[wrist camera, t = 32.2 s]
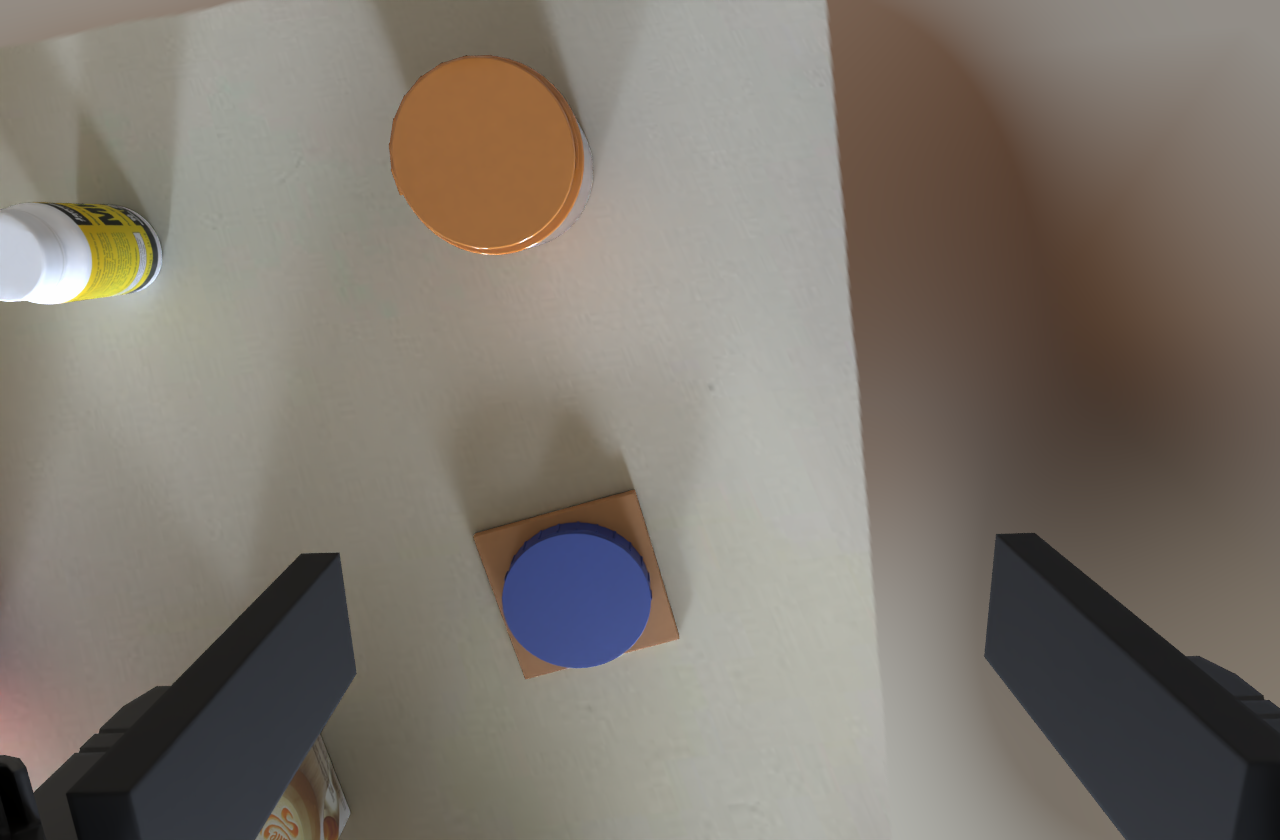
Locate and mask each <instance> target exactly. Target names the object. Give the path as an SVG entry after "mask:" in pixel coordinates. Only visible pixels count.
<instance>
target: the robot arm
mask: <svg viewBox="0 0 1280 840" xmlns="http://www.w3.org/2000/svg"><path fill="white" fill-rule="evenodd" d="M984 657H985V658H986V659H987V661H988V662H989V663H990V665H991V666H992V667H993V669H994V670H995V671H996V672H997V674H998V675H999V676H1000V678H1001V679H1002V680H1003V681H1004V683H1005V684H1006V685H1007V687H1008V688H1009V689H1010V691H1011V692H1012V693H1013V694H1014V696H1015V697H1016V698H1017V700H1018V701H1019V702H1020V703H1021V705H1022V706H1023V707H1024V709H1025V710H1026V711H1027V713H1028V714H1029V715H1030V716H1031V718H1032V719H1033V720H1034V722H1035V723H1036V724H1037V725H1038V727H1039V728H1040V729H1041V731H1042V732H1043V733H1044V734H1045V736H1046V737H1047V738H1048V740H1049V741H1050V742H1051V744H1052V745H1053V746H1054V747H1055V749H1056V750H1057V751H1058V753H1059V754H1060V755H1061V757H1062V758H1063V759H1064V760H1065V762H1066V763H1067V764H1068V766H1069V767H1070V768H1071V769H1072V771H1073V772H1074V773H1075V774H1076V776H1077V777H1078V778H1079V780H1080V781H1081V782H1082V784H1083V785H1084V786H1085V788H1086V789H1087V790H1088V791H1089V793H1090V794H1091V795H1092V797H1093V798H1094V799H1095V800H1096V802H1097V803H1098V804H1099V806H1100V807H1101V808H1102V810H1103V811H1104V812H1105V813H1106V815H1107V816H1108V817H1109V819H1110V820H1111V821H1112V823H1113V824H1114V825H1115V826H1116V828H1117V829H1118V830H1119V831H1120V833H1121V834H1122V835H1123V837H1124V838H1125V839H1126V840H1280V708H1279V707H1277V706H1276V705H1275V704H1273V703H1272V702H1271V701H1270V700H1264V697H1263V695H1262V694H1261V693H1259V692H1258V691H1257V690H1255V689H1254V688H1253V687H1252V686H1250V685H1249V684H1248V683H1247V682H1245V681H1244V680H1243V679H1241V678H1240V677H1239V676H1238V675H1236V674H1234V673H1232V672H1230V671H1228V670H1226V669H1224V668H1222V667H1220V666H1218V665H1216V664H1214V663H1212V662H1210V661H1208V660H1206V659H1204V658H1202V657H1200V656H1185V655H1183V654H1182V653H1181V652H1180V651H1179V650H1177V649H1176V648H1175V647H1174V646H1172V645H1171V644H1170V643H1169V642H1168V641H1166V640H1165V639H1164V638H1163V637H1161V636H1160V635H1159V634H1158V633H1156V632H1155V631H1154V630H1153V629H1152V628H1150V627H1149V626H1148V625H1147V624H1146V623H1144V622H1143V621H1142V620H1141V619H1139V618H1138V617H1137V616H1136V615H1134V614H1133V613H1132V612H1131V611H1130V610H1128V609H1127V608H1126V607H1124V606H1123V605H1122V604H1121V603H1120V602H1119V601H1117V600H1116V599H1115V598H1114V597H1112V596H1111V595H1110V594H1109V593H1108V592H1106V591H1105V590H1104V589H1103V588H1101V587H1100V586H1099V585H1098V584H1097V583H1095V582H1094V581H1093V580H1091V579H1090V578H1089V577H1088V576H1087V575H1085V574H1084V573H1083V572H1082V571H1081V570H1079V569H1078V568H1077V567H1076V566H1074V565H1073V564H1072V563H1071V562H1070V561H1068V560H1067V559H1066V558H1065V557H1063V556H1062V555H1061V554H1060V553H1059V552H1057V551H1056V550H1055V549H1053V548H1052V547H1051V546H1050V545H1049V544H1048V543H1046V542H1045V541H1044V540H1043V539H1041V538H1040V537H1039V536H1038V535H1037V534H1035V533H1018V534H996V540H995V551H994V561H993V572H992V582H991V592H990V603H989V613H988V624H987V634H986V645H985V655H984ZM356 674H357V673H356V666H355V659H354V652H353V645H352V638H351V631H350V624H349V617H348V610H347V603H346V596H345V589H344V582H343V575H342V568H341V561H340V554H339V553H306V554H300V555H299V556H298V557H297V558H296V560H295V561H294V562H293V563H292V564H291V565H290V566H289V567H288V568H287V569H286V570H285V571H284V572H283V573H282V574H281V575H280V576H279V577H278V578H277V579H276V580H275V581H274V582H273V583H272V584H271V585H270V586H269V587H268V588H267V589H266V590H265V591H264V592H263V593H262V594H261V595H260V596H259V597H258V598H257V599H256V600H255V601H254V602H253V603H252V604H251V605H250V606H249V607H248V608H247V609H246V610H245V611H244V612H243V613H242V614H241V615H240V616H239V617H238V618H237V620H236V621H235V622H234V623H233V624H232V625H231V626H230V627H229V628H228V629H227V630H226V631H225V632H224V633H223V634H222V635H221V636H220V637H219V638H218V639H217V640H216V641H215V642H214V643H213V644H212V645H211V646H210V647H209V648H208V649H207V650H206V651H205V652H204V653H203V654H202V655H201V656H200V657H199V658H198V659H197V660H196V661H195V662H194V663H193V664H192V665H191V666H190V667H189V668H188V669H187V670H186V671H185V672H184V673H183V674H182V675H181V676H180V677H179V678H178V680H177V681H176V682H175V683H174V684H173V685H172V686H156V687H155V688H153V689H151V690H150V691H148V692H146V693H145V694H143V695H141V696H140V697H138V698H136V699H135V700H133V701H131V702H130V703H128V704H126V705H125V706H123V707H122V708H121V709H120V710H119V711H118V712H117V713H116V714H115V715H114V716H113V717H112V718H111V719H110V720H109V721H108V722H107V723H105V724H104V725H103V726H102V727H101V728H100V731H99V734H94V735H93V736H92V737H91V738H90V739H89V740H88V741H87V742H86V743H85V744H84V745H83V746H82V747H81V748H80V751H79V753H74V754H73V755H72V756H71V757H70V758H69V759H68V760H67V761H66V762H65V763H64V764H63V765H62V766H61V767H60V768H59V769H58V770H57V771H56V772H55V773H54V774H52V775H51V776H50V777H49V778H48V779H47V780H46V781H45V782H44V783H43V784H42V785H41V786H40V787H39V788H38V789H37V790H36V791H35V792H34V793H33V790H32V787H31V783H30V779H29V776H28V772H27V769H26V766H25V765H24V764H23V762H22V761H21V760H20V758H15V757H11V756H6V755H0V840H255V839H256V838H257V836H258V835H259V833H260V831H261V830H262V828H263V826H264V825H265V823H266V821H267V820H268V818H269V816H270V815H271V813H272V812H273V810H274V808H275V807H276V805H277V803H278V802H279V800H280V798H281V797H282V795H283V793H284V792H285V790H286V789H287V787H288V785H289V784H290V782H291V780H292V779H293V777H294V775H295V774H296V772H297V771H298V769H299V767H300V766H301V764H302V762H303V761H304V759H305V757H306V756H307V754H308V752H309V751H310V749H311V748H312V746H313V744H314V743H315V741H316V739H317V738H318V736H319V734H320V733H321V731H322V730H323V728H324V726H325V725H326V723H327V721H328V720H329V718H330V716H331V715H332V713H333V711H334V710H335V708H336V707H337V705H338V703H339V702H340V700H341V698H342V697H343V695H344V693H345V692H346V690H347V689H348V687H349V685H350V684H351V682H352V680H353V679H354V677H355V675H356Z"/></svg>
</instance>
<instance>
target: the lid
mask: <svg viewBox="0 0 1280 840" xmlns="http://www.w3.org/2000/svg"><path fill="white" fill-rule="evenodd" d="M504 581H505V583H504V587H503V592H502V606H503V612H504V616H505V620H506V622H507V625H508V627H509V629H510V631H511V632H512V634H513V636H514V637H515V638H516V640H517V641H518V642H519V643H520V644H521V645H522V646H523V647H524V648H525V649H526V650H527V651H528V652H530V653H531V654H532V655H534V656H536V657H537V658H539V659H541V660H543V661H545V662H548V663H550V664H554V665H557V666H561V667H567V668H588V667H594V666H598V665H601V664H605V663H607V662H609V661H612V660H614V659H615V658H617V657H619V656H621V655H622V654H623V653H625V652H626V651H627V650H629V649H630V648H631V647H632V646H633V645H634V644H635V642H636V641H637V640H638V638H639V637H640V636H641V634H642V632H643V631H644V629H645V627H646V624H647V622H648V618H649V614H650V608H651V600H652V590H650V573H649V572H648V571H647V568H646V565H645V563H644V561H643V557H642V556H640V554H639V553H638V552H637V550H636V549H635V548H634V547H633V546H632V545H631V542H628V541H627V540H626V539H625V538H624V537H622V536H621V535H619V534H617V533H616V531H612V530H610V529H608V528H605V527H602V526H599V525H598V524H596V525H595V524H590V523H581V522H579V521H577V522H574V523H565V524H560V523H559V524H558V525H556V526H552V527H549V528H547V529H545V530H543V531H542V530H540V532H539V533H538V534H536V535H534V536H533V537H532V538H530V539H529V540H528V541H525V542H524V545H523V546H522V547H521V548H520V549H519V551H518V552H517V554H516V555H514V556H513V559H512V561H511V565H510V568H509V571H507V572H506V575H505V578H504Z"/></svg>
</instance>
